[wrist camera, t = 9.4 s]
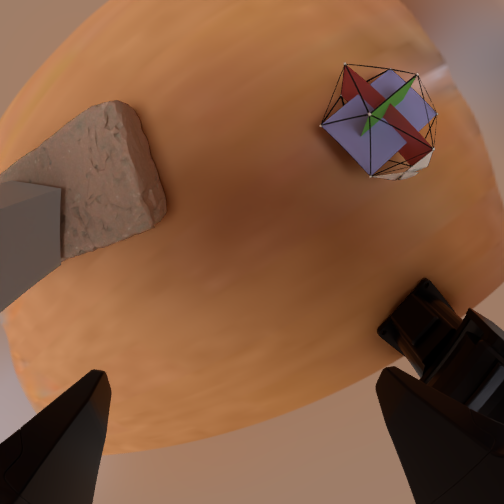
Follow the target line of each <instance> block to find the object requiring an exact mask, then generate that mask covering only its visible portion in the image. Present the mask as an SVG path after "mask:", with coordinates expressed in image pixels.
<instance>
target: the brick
mask: <svg viewBox="0 0 504 504" xmlns="http://www.w3.org/2000/svg"><path fill="white" fill-rule="evenodd" d="M11 180H12V181H18V182H25V183H31V184H37V185H43V186H49V187H56V188H61V201H60V257H61V262H63V261H65V260H67V259H68V258H72V257H75V256H77V255H81V254H84V253H86V252H89V251H94V250H96V249H98V248H104V247H106V246H109V245H111V244H113V243H116V242H119V241H122V240H125V239H127V238H130V237H132V236H133V235H135V234H140V233H143V232H145V231H147V230H149V229H151V228H154V225H155V224H156V223H158V222H160V221H161V219H162V218H163V217H164V215H165V214H166V210H167V208H166V198H165V195H164V191H163V188H162V185H161V182H160V180H159V176H158V173H157V170H156V167H155V165H154V162H153V160H152V158H151V155H150V150H149V144H148V141H147V138H146V136H145V135H144V134H143V132H142V129H141V122H140V120H139V117H138V116H137V115H136V113H135V110H134V109H132V108H131V107H130V106H129V105H128V104H126V103H123V102H120V101H118V100H115V101H109V102H105V103H101V104H98V105H94V106H91V107H90V108H88V109H87V110H85V111H84V112H82V113H81V114H79V115H78V116H76V117H75V118H74V119H72V120H71V121H69V122H68V123H67V124H66V125H64V126H63V127H62V128H61V129H60V130H58V131H57V132H56V133H55V134H54V135H52V136H51V137H50V138H48V139H47V140H45V141H44V142H43V143H42V144H41V145H40V146H39V147H38V148H36V149H34V150H33V151H31V152H29V153H27V154H26V155H25V156H23V157H22V158H20V159H19V160H17V161H16V162H15V163H14V164H12V165H11V166H10V167H9V168H8V169H7V170H5V171H4V172H2V173H1V174H0V183H4V182H8V181H11Z"/></svg>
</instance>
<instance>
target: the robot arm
mask: <svg viewBox="0 0 504 504" xmlns="http://www.w3.org/2000/svg"><path fill="white" fill-rule="evenodd" d="M426 283H427V284H426ZM425 284H426V285H425ZM384 330H385V331H384ZM382 331H384V332H382ZM377 333H378V335H379V336H380V337H381V338H382V339H384V340H385V341H386V342H387V343H389V344H390V345H391V346H392V347H394V348H395V349H396V350H397V351H399V352H400V353H401V354H403V355H404V356H405V357H406V358H407V359H408V361H409V362H410V363H411V365H412V366H413V367H414V369H415V370H416V372H417V373H418V375H419V376H420V380H418V379H416V378H414V377H413V376H411V375H409V374H407V373H406V372H404V371H402V370H400V369H399V368H397V367H395V366H393V367H386V368H384V369H383V370H382V372H381V375H380V377H379V379H378V381H377V383H376V393H377V396H378V399H379V403H380V406H381V410H382V413H383V416H384V420H385V423H386V426H387V429H388V431H389V434H390V436H391V438H392V441H393V444H394V446H395V449H396V451H397V454H398V456H399V459H400V462H401V464H402V467H403V469H404V472H405V475H406V477H407V480H408V483H409V486H410V488H411V491H412V494H413V497H414V500H415V502H416V504H504V331H503V330H502V329H500V328H499V327H498V326H497V325H495V324H494V323H493V322H492V321H490V320H489V319H487V318H485V317H484V316H482V315H481V314H479V313H477V312H476V311H474V310H473V309H471V308H469V309H468V311H467V312H466V316H465V318H464V319H463V320H462V319H461V318H460V317H459V316H458V315H457V314H456V313H455V312H454V310H453V309H452V308H451V306H450V305H449V304H448V302H447V301H446V300H445V298H444V297H443V296H442V295H441V293H440V292H439V291H438V290H437V288H436V287H435V286H434V285H433V284H432V282H431V281H430V280H428V279H427V278H425V279H423V280H422V281H421V282H420V283H419V284H418V286H417V287H416V288H415V289H414V290H413V291H412V293H411V294H410V295H409V296H408V297H407V298H406V299H405V301H404V302H403V303H402V304H401V305H400V306H399V307H398V308H397V309H396V310H395V312H394V313H393V314H392V315H391V316H390V317H389V318H388V319H387V320H386V321H385V322H384V323H383V324H382V325H381V326H380V327H379V329H378V331H377ZM110 401H111V387H110V384H109V381H108V378H107V374H106V372H105V371H102V370H95V369H93V370H91V371H90V372H89V373H87V374H86V375H85V376H84V377H82V378H81V379H80V380H79V381H77V382H76V383H75V384H74V385H72V386H71V387H70V388H69V389H68V390H66V391H65V392H64V393H63V394H61V395H60V396H59V397H58V398H56V399H55V400H54V401H53V402H52V403H50V404H49V405H48V406H47V407H45V408H44V409H43V410H42V411H40V412H39V413H38V414H37V415H36V416H34V417H33V418H32V419H31V420H29V421H28V422H27V423H26V424H25V425H23V426H22V427H21V430H20V429H19V430H17V431H16V432H15V433H14V434H12V435H11V436H10V437H8V438H7V439H6V440H5V441H3V442H2V443H1V444H0V504H92V502H93V496H94V490H95V485H96V480H97V474H98V469H99V465H100V460H101V456H102V451H103V447H104V443H105V438H106V432H107V424H108V416H109V408H110Z"/></svg>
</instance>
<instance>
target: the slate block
mask: <svg viewBox="0 0 504 504" xmlns="http://www.w3.org/2000/svg"><path fill="white" fill-rule="evenodd" d="M60 201H61V188H56V187H49V186H43V185H37V184H31V183H25V182H18V181H12V180H11V181H8V182H4V183H0V313H1V312H2V311H3V310H4V309H5V308H6V307H8V306H9V305H10V304H11V303H12V302H14V301H15V300H16V299H17V298H18V297H20V296H21V295H22V294H23V293H25V292H26V291H27V290H28V289H30V288H31V287H32V286H33V285H35V284H36V283H37V282H39V281H40V280H41V279H42V278H44V277H45V276H46V275H48V274H49V273H50V272H52V271H53V270H54V269H56V268H57V267H58V266H60V265H61V257H60Z"/></svg>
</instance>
